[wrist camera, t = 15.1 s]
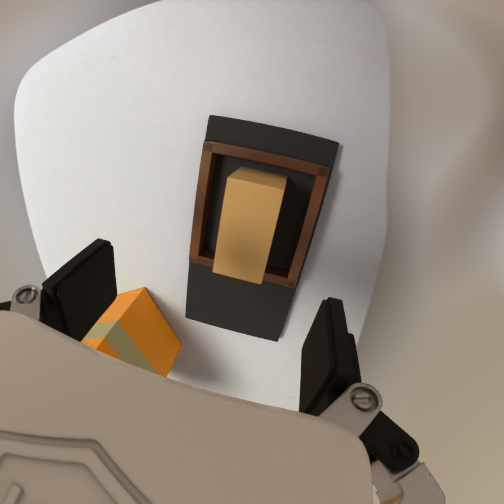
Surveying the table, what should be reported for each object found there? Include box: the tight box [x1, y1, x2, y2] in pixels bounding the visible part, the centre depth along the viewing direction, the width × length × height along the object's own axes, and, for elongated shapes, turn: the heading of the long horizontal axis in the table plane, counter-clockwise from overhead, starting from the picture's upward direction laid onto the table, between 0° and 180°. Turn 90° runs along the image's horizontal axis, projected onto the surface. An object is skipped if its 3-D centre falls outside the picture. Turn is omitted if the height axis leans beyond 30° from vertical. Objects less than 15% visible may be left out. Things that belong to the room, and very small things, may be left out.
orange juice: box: [81, 287, 182, 377], centre depth 23 cm, size 8×9×20 cm
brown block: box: [213, 166, 287, 284], centre depth 20 cm, size 4×7×4 cm, turn 169°
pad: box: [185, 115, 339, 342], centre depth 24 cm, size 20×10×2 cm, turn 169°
